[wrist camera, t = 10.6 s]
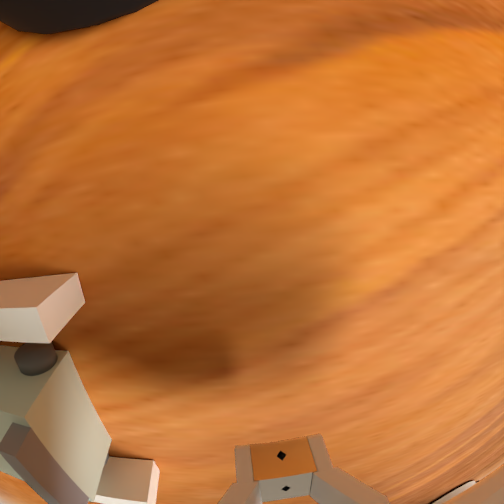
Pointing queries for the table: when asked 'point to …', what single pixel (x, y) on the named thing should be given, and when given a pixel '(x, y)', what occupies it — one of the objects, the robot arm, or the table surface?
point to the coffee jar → (64, 13)
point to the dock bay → (44, 331)
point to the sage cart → (49, 425)
